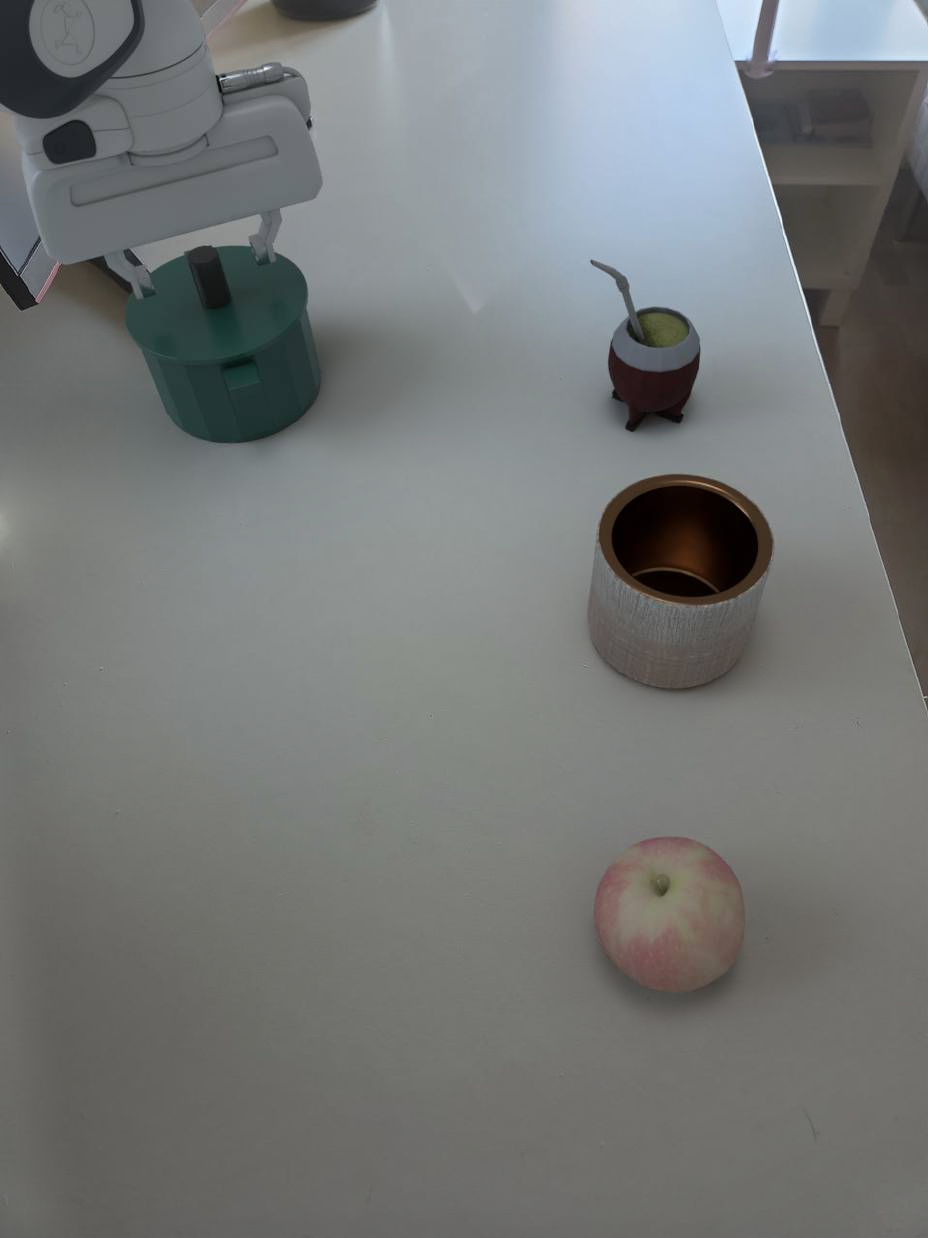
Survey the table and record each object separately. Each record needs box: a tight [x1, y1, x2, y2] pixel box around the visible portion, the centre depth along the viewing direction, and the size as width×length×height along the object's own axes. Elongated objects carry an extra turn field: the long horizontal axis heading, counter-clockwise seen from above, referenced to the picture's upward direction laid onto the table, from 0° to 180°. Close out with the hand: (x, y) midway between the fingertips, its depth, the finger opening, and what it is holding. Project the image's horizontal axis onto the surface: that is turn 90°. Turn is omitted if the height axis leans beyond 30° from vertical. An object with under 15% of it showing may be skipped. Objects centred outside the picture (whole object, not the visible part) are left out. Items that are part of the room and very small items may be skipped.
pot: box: [140, 244, 322, 444], centre depth 79 cm, size 13×19×8 cm
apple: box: [593, 836, 746, 994], centre depth 51 cm, size 8×8×8 cm
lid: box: [124, 245, 309, 365], centre depth 74 cm, size 14×14×5 cm
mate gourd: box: [589, 259, 701, 432], centre depth 73 cm, size 8×8×15 cm
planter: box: [587, 473, 775, 689], centre depth 62 cm, size 11×11×10 cm
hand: (206, 276), depth 74 cm, fingers open, 8 cm apart
